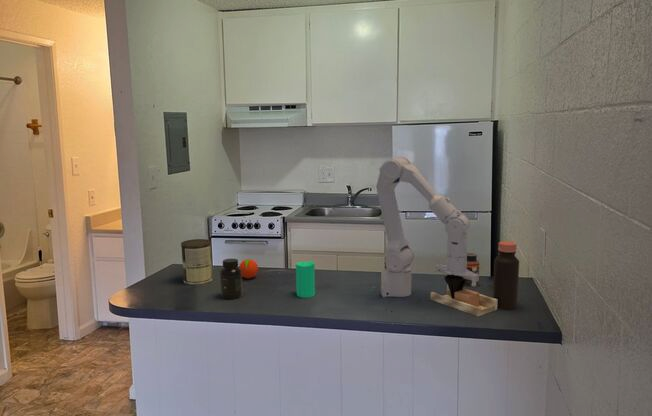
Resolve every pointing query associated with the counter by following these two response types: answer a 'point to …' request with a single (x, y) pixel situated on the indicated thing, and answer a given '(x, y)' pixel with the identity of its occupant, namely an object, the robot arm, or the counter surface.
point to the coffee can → (196, 261)
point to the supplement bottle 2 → (472, 268)
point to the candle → (305, 279)
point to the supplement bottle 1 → (231, 279)
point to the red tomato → (248, 268)
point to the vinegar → (506, 276)
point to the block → (467, 297)
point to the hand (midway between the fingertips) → (455, 299)
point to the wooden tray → (484, 306)
